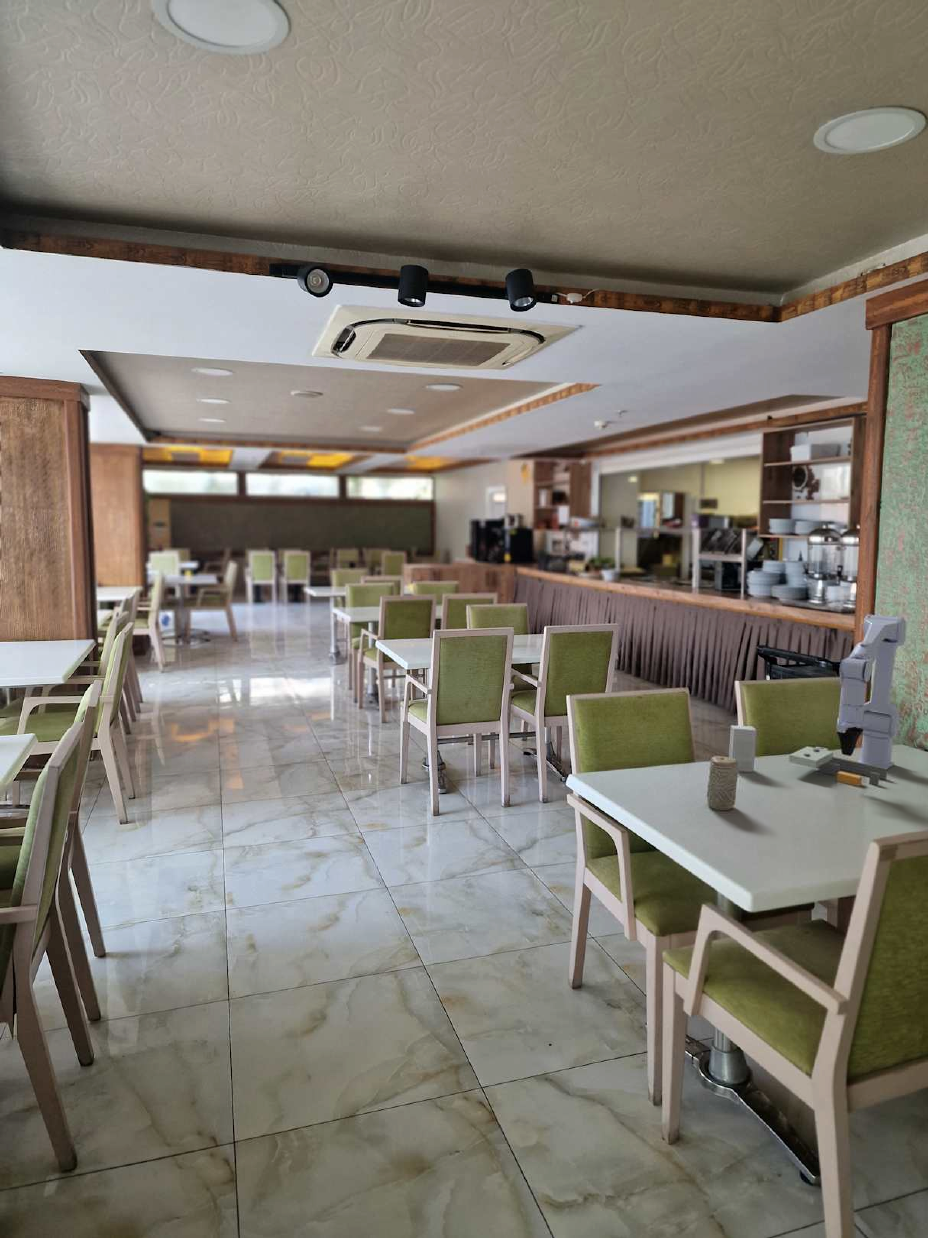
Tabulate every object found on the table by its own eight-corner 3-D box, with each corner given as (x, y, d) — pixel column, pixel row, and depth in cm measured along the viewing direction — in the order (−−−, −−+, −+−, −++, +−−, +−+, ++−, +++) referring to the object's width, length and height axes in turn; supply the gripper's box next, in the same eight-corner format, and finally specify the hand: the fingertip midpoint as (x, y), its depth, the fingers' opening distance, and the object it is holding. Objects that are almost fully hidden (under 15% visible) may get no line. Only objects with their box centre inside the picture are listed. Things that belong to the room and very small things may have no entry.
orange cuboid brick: (840, 779, 208) (840, 771, 208) (861, 785, 204) (862, 776, 204) (836, 781, 207) (837, 773, 206) (857, 787, 203) (858, 778, 202)
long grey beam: (828, 766, 220) (829, 755, 219) (886, 779, 210) (887, 768, 209) (818, 771, 214) (819, 761, 214) (877, 785, 204) (878, 774, 203)
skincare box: (749, 768, 215) (752, 726, 214) (753, 772, 211) (757, 730, 209) (727, 766, 216) (730, 724, 214) (730, 771, 211) (734, 728, 210)
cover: (833, 769, 216) (835, 749, 215) (814, 780, 205) (816, 759, 205) (808, 763, 221) (810, 743, 220) (787, 774, 210) (789, 753, 209)
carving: (701, 807, 182) (704, 758, 180) (714, 800, 188) (717, 752, 186) (727, 815, 178) (731, 764, 176) (739, 807, 183) (743, 758, 182)
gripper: (859, 711, 192) (854, 763, 194) (877, 703, 202) (872, 753, 204) (829, 705, 197) (825, 757, 198) (848, 698, 207) (843, 747, 209)
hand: (846, 754), depth 202 cm, fingers closed
